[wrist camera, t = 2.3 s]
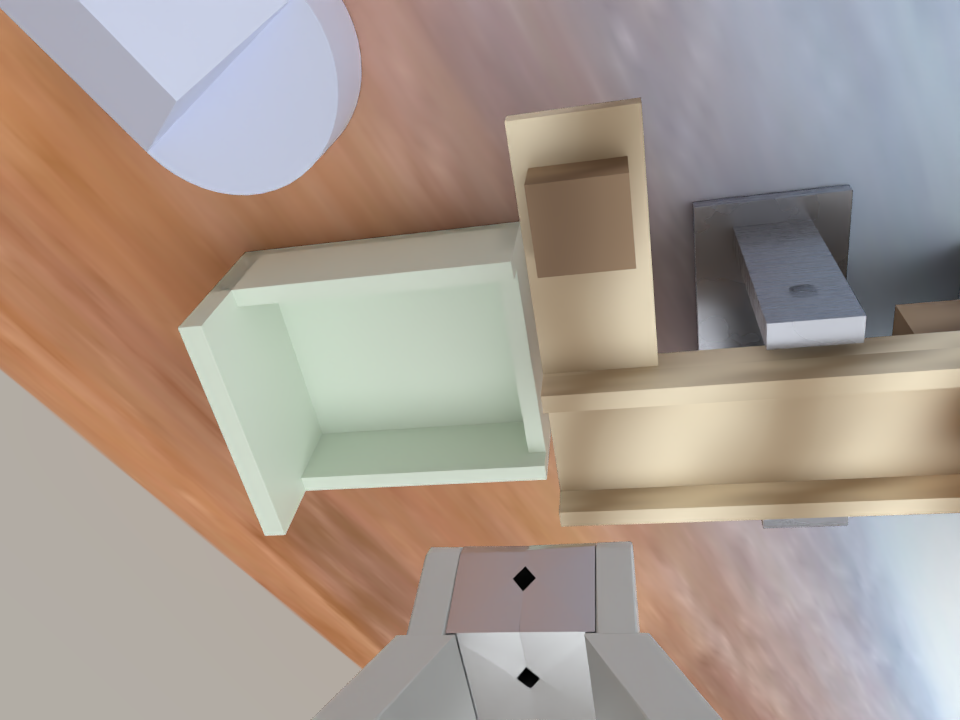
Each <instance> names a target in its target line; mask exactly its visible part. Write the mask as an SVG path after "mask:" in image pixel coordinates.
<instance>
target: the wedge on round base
mask: <svg viewBox="0 0 960 720" xmlns="http://www.w3.org/2000/svg"><path fill="white" fill-rule="evenodd" d="M0 8H1V9H2V10H3V11H4V12H5V13H6V14H7V15H8V16H9V17H10V18H11V19H12V20H13V21H14V22H15V23H16V24H17V25H18V26H19V27H20V28H21V29H22V30H23V31H24V32H25V33H26V34H27V35H28V36H29V37H30V38H31V39H32V40H33V41H34V42H35V43H36V44H37V45H38V46H39V47H40V48H41V49H42V50H43V51H45V52H46V53H47V54H48V55H49V56H50V57H51V58H52V59H53V60H54V61H55V62H56V63H57V64H58V65H59V66H60V67H61V68H62V69H63V70H64V71H65V72H66V73H67V74H68V75H69V76H70V77H71V78H72V79H73V80H74V81H75V82H76V83H77V84H78V85H79V86H80V87H81V88H82V89H83V90H84V91H85V92H86V93H87V94H88V95H89V96H90V97H91V98H92V99H93V100H94V101H95V102H96V103H97V104H98V105H99V106H100V107H101V108H102V109H103V110H104V111H105V112H106V113H107V114H108V115H110V116H111V117H112V118H113V119H114V120H115V121H116V122H117V123H118V124H119V125H120V126H121V127H122V128H123V129H124V130H125V131H126V132H127V133H128V134H129V135H130V136H131V137H132V138H133V139H134V140H135V141H136V142H137V143H138V144H139V145H140V146H141V147H142V148H143V149H144V150H145V151H146V152H147V153H148V154H149V155H150V156H152V157H153V158H154V159H155V160H156V161H157V162H158V163H159V164H161V165H162V166H164V167H165V168H166V169H168V170H169V171H171V172H172V173H173V174H175V175H177V176H179V177H180V178H182V179H184V180H186V181H188V182H190V183H192V184H194V185H197V186H199V187H202V188H204V189H208V190H211V191H215V192H218V193H225V194H231V195H254V194H262V193H266V192H270V191H273V190H277V189H279V188H281V187H284V186H286V185H288V184H290V183H291V182H293V181H295V180H296V179H298V178H299V177H301V176H302V175H303V174H304V173H305V172H306V171H307V170H309V169H310V168H311V167H312V166H313V165H314V164H315V162H316V161H317V160H318V159H319V158H320V157H321V156H322V155H323V154H324V153H325V152H326V151H327V149H328V148H329V147H330V146H331V145H332V144H333V143H334V142H335V141H336V140H337V138H338V137H339V136H340V135H341V133H342V132H343V131H344V130H345V128H346V126H347V124H348V123H349V121H350V119H351V118H352V115H353V112H354V110H355V107H356V105H357V101H358V97H359V93H360V87H361V76H362V68H361V54H360V48H359V42H358V38H357V35H356V31H355V28H354V24H353V22H352V20H351V17H350V15H349V13H348V10H347V8H346V6H345V5H344V3H343V1H342V0H0Z"/></svg>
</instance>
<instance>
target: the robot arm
mask: <svg viewBox="0 0 960 720" xmlns="http://www.w3.org/2000/svg"><path fill="white" fill-rule="evenodd" d="M536 719H537V720H722V718H721V717H720V716H719V715H718V714H717V713H716V711H715V710H714V709H713V708H712V707H711V706H710V704H709V703H708V702H707V701H706V700H705V699H704V697H703V696H702V695H701V694H700V693H699V691H698V690H697V689H696V688H695V687H694V686H693V684H692V683H691V682H690V681H689V680H688V679H687V677H686V676H685V675H684V674H683V673H682V672H681V670H680V669H679V668H678V667H677V666H676V664H675V663H674V662H673V661H672V660H671V659H670V657H669V656H668V655H667V654H666V653H665V652H664V650H663V649H662V648H661V647H660V646H659V645H658V643H657V642H656V641H655V640H654V639H653V637H652V636H651V635H650V634H649V633H640V628H639V616H638V604H637V591H636V579H635V567H634V555H633V545H632V542H630V541H628V542H605V543H597V545H596V543H584V544H559V545H534V546H473V547H431V548H430V550H429V551H428V553H427V554H426V557H425V561H424V565H423V569H422V573H421V577H420V581H419V585H418V590H417V594H416V598H415V602H414V606H413V610H412V614H411V618H410V623H409V627H408V631H407V635H397V636H396V637H395V638H394V639H393V640H392V641H391V642H390V643H389V644H388V645H387V646H386V647H385V648H383V649H382V650H381V651H380V652H379V653H378V654H377V655H376V656H375V657H374V658H373V659H372V660H371V661H370V662H369V663H368V664H367V665H366V666H365V667H364V668H363V669H362V670H361V671H360V672H359V673H358V674H357V675H356V676H355V677H354V678H353V679H352V680H351V681H350V682H349V683H348V684H347V685H346V686H345V687H344V688H343V689H342V690H341V691H340V692H339V693H338V694H336V695H335V697H333V698H332V699H331V700H330V701H329V702H328V703H327V704H326V705H325V706H324V707H323V708H322V709H321V710H320V711H319V712H318V713H317V714H316V715H315V716H314V717H313V718H312V719H311V720H536Z"/></svg>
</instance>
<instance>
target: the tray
mask: <svg viewBox="0 0 960 720" xmlns="http://www.w3.org/2000/svg"><path fill="white" fill-rule="evenodd" d="M178 329H179V332H180V334H181V337H182V339H183V341H184V344H185V346H186V349H187V351H188V353H189V356H190V358H191V360H192V363H193V365H194V368H195V370H196V372H197V375H198V377H199V380H200V382H201V384H202V387H203V389H204V391H205V394H206V396H207V399H208V401H209V403H210V406H211V408H212V411H213V413H214V415H215V418H216V420H217V422H218V425H219V427H220V430H221V432H222V434H223V437H224V439H225V442H226V444H227V446H228V449H229V451H230V453H231V456H232V458H233V461H234V463H235V465H236V468H237V470H238V472H239V475H240V477H241V480H242V482H243V484H244V487H245V489H246V492H247V494H248V496H249V499H250V501H251V503H252V506H253V508H254V511H255V513H256V515H257V518H258V520H259V523H260V525H261V527H262V530H263V532H264V534H265V536H267V535H285V534H286V532H287V530H288V528H289V526H290V524H291V521H292V519H293V517H294V515H295V513H296V511H297V508H298V506H299V504H300V502H301V500H302V498H303V496H304V493H305V491H310V490H331V489H353V488H375V487H396V486H418V485H439V484H461V483H482V482H504V481H526V480H547V471H548V460H549V448H550V437H551V427H550V420H549V414H548V413H543V408H542V402H541V390H542V381H543V369H542V363H541V356H540V350H539V343H538V337H537V330H536V324H535V317H534V311H533V304H532V298H531V291H530V285H529V278H528V272H527V265H526V259H525V252H524V246H523V239H522V233H521V226H520V222H511V223H502V224H493V225H484V226H476V227H467V228H458V229H449V230H440V231H431V232H422V233H413V234H404V235H395V236H386V237H377V238H368V239H359V240H350V241H341V242H332V243H323V244H314V245H305V246H296V247H287V248H278V249H269V250H260V251H251V252H245V253H244V254H243V255H242V257H241V258H240V259H239V260H238V261H237V262H236V263H235V264H234V266H233V267H232V268H231V269H230V270H229V271H228V272H227V273H226V275H225V276H224V277H223V278H222V279H221V280H220V281H219V282H218V284H217V285H216V286H215V287H214V288H213V289H212V290H211V291H210V293H209V294H208V295H207V296H206V297H205V298H204V299H203V300H202V302H201V303H200V304H199V305H198V306H197V307H196V308H195V309H194V310H193V312H192V313H191V314H190V315H189V316H188V317H187V318H186V319H185V321H184V322H183V323H182V324H181V325H180V326H179V327H178Z"/></svg>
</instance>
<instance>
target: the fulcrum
mask: <svg viewBox="0 0 960 720" xmlns="http://www.w3.org/2000/svg"><path fill="white" fill-rule="evenodd" d="M852 196H853V190H852V188H851V187H850V186H849V185H844V186H835V187H826V188H817V189H808V190H799V191H790V192H781V193H772V194H763V195H754V196H745V197H736V198H727V199H718V200H709V201H700V202H693V221H694V250H695V280H696V309H697V338H698V350H711V349H724V348H738V347H751V346H764V345H765V347H766V350H775V349H788V348H801V347H815V346H828V345H842V344H855V343H864V338H865V327H866V314H865V312H864V311H863V309H862V307H861V305H860V304H859V302H858V300H857V298H856V297H855V295H854V293H853V291H852V290H851V288H850V286H849V284H848V282H847V281H846V277H847V263H848V250H849V236H850V223H851V209H852ZM958 300H960V290H959V296H958ZM761 521H762V525H763V528H789V527H820V526H847V525H848V517H824V518H795V519H766V520H761Z"/></svg>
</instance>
